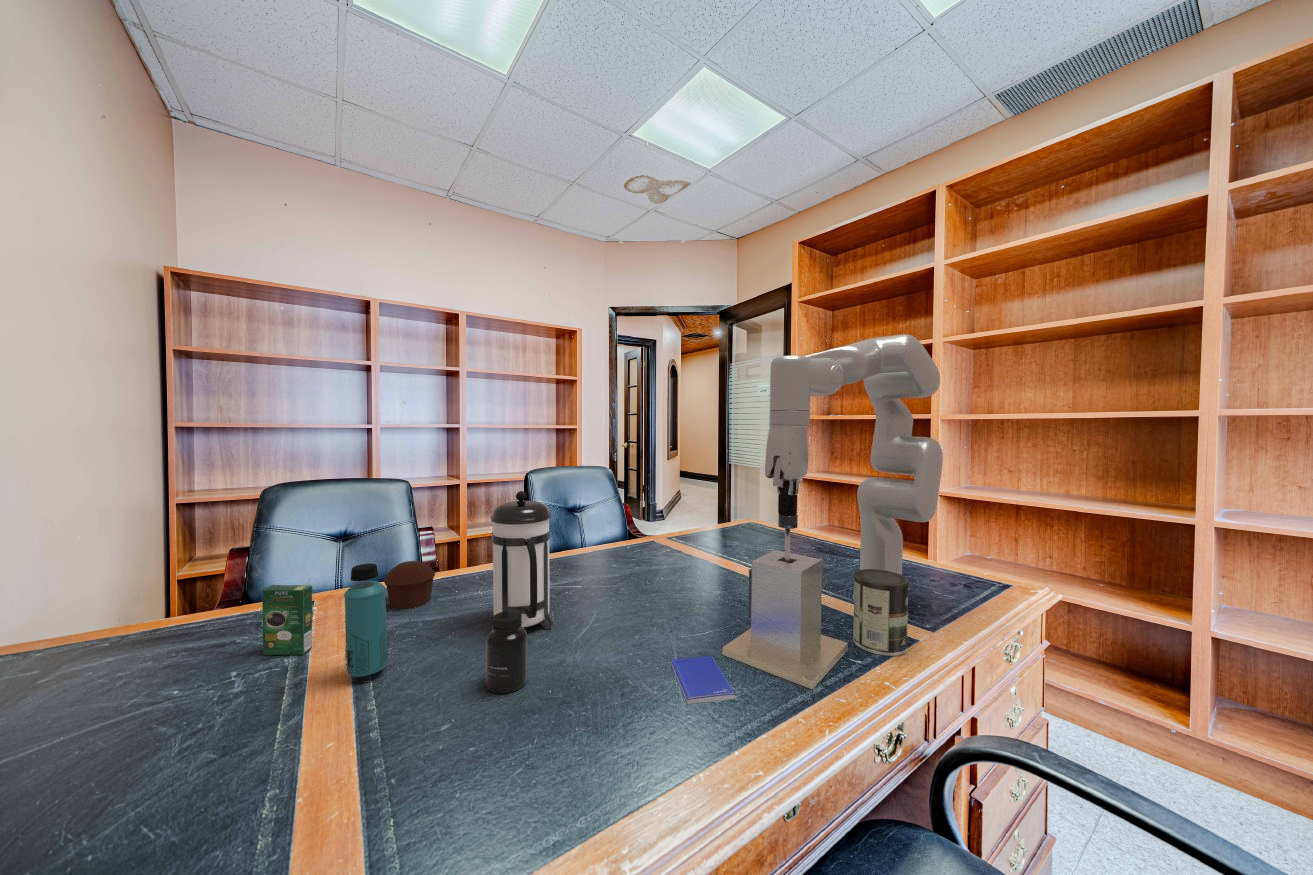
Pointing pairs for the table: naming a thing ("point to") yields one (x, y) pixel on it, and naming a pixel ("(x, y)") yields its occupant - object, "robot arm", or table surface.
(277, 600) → the coffee box
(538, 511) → the coffee press
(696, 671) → the hard drive
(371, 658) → the beverage bottle
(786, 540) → the plunger
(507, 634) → the supplement bottle
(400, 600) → the muffin
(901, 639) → the coffee can
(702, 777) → the table surface
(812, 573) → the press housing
